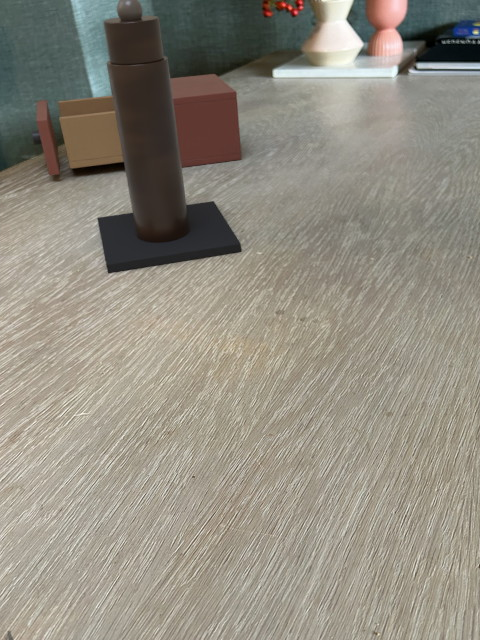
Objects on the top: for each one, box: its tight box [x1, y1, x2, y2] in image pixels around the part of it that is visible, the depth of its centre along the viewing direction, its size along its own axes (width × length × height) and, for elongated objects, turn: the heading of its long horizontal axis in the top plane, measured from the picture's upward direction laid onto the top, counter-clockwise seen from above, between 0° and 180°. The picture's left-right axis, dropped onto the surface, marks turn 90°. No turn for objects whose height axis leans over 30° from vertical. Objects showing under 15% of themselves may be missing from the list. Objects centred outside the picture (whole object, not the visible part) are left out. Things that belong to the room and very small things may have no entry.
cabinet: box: [170, 73, 242, 168], centre depth 86 cm, size 14×13×8 cm
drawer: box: [30, 95, 124, 176], centre depth 84 cm, size 14×11×6 cm
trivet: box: [97, 200, 242, 274], centre depth 64 cm, size 12×12×1 cm
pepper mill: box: [103, 0, 190, 243], centre depth 58 cm, size 5×5×20 cm
